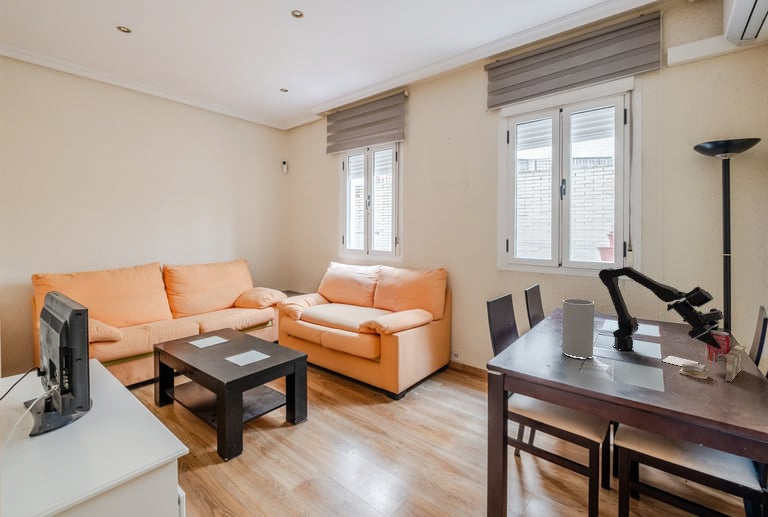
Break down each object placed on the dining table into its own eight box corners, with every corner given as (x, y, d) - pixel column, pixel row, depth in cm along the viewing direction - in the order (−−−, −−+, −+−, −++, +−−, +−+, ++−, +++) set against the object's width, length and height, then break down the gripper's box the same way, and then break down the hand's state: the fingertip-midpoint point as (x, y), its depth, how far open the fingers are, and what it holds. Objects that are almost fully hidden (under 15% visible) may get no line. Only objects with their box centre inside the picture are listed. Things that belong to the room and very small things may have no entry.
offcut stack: (679, 374, 139) (679, 363, 139) (682, 370, 142) (683, 360, 142) (706, 380, 133) (706, 369, 132) (709, 377, 136) (709, 365, 135)
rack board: (732, 383, 130) (734, 356, 129) (723, 380, 132) (725, 355, 131) (743, 370, 140) (745, 346, 139) (735, 368, 142) (737, 344, 141)
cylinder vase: (584, 350, 167) (586, 298, 165) (598, 360, 154) (599, 304, 152) (557, 350, 168) (558, 298, 166) (568, 360, 156) (569, 304, 153)
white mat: (661, 361, 151) (661, 360, 151) (669, 356, 157) (669, 355, 157) (691, 369, 143) (691, 368, 143) (698, 363, 149) (698, 362, 148)
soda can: (716, 358, 144) (718, 329, 142) (734, 364, 136) (736, 334, 135) (700, 358, 143) (702, 329, 142) (717, 365, 136) (719, 335, 135)
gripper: (700, 306, 135) (738, 341, 128) (714, 299, 146) (749, 331, 138) (674, 321, 143) (708, 355, 135) (688, 314, 153) (721, 345, 145)
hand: (722, 346), depth 138 cm, fingers closed on soda can, 7 cm apart
